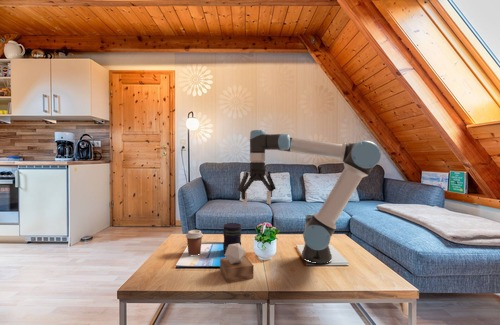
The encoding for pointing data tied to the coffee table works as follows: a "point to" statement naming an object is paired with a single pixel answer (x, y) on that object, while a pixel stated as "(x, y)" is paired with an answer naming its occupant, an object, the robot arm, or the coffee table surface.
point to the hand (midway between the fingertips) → (257, 204)
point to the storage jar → (231, 234)
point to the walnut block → (236, 270)
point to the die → (235, 253)
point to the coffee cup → (194, 242)
